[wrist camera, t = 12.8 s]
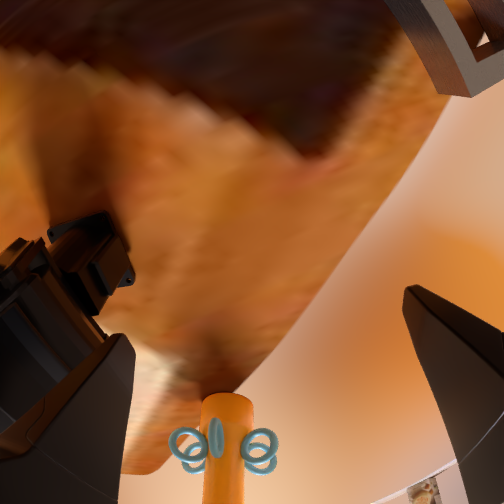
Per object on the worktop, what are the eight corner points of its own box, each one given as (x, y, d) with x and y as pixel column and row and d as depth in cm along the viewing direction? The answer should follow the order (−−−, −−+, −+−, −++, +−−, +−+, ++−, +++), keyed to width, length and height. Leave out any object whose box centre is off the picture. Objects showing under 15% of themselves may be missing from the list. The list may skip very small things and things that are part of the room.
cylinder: (167, 409, 33) (148, 516, 20) (191, 366, 29) (170, 505, 16) (255, 431, 36) (256, 531, 23) (295, 394, 31) (308, 517, 18)
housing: (438, 93, 16) (471, 97, 13) (364, -25, 12) (387, -45, 9) (508, 55, 14) (539, 57, 10) (450, -47, 10) (477, -59, 6)
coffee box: (428, 477, 63) (439, 516, 49) (435, 477, 65) (445, 513, 51) (405, 489, 67) (414, 526, 53) (413, 488, 69) (422, 523, 55)
